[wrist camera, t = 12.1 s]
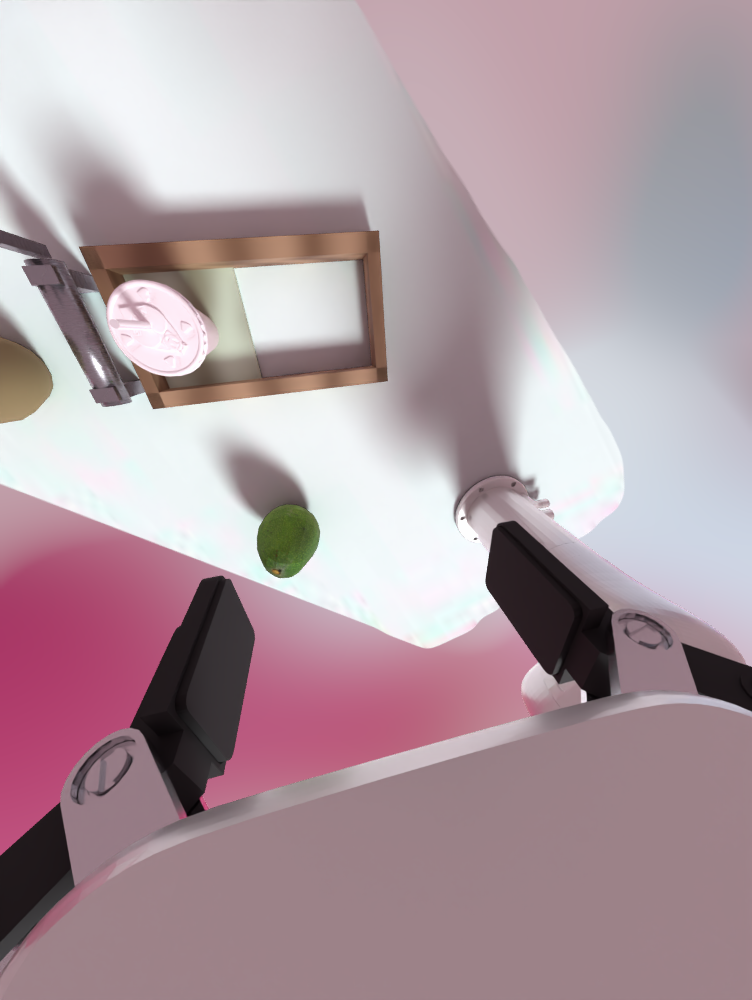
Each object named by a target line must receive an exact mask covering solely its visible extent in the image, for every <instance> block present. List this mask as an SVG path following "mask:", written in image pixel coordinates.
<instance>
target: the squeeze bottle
mask: <svg viewBox="0 0 752 1000" xmlns="http://www.w3.org/2000/svg"><path fill="white" fill-rule="evenodd" d="M52 389H53V382H52V376H51V374H50V372H49V370H48V369H47V367H46V365H45V364H44V362H43V361H41V360H40V359H39V358H38V357H37V356H36V355H35V354H34V353H33V352H32V351H30V350H28V349H27V348H25V347H23V346H21V345H20V344H18V343H16V342H13V341H10V340H7V339H4V338H2V337H0V423H6V422H12V421H18V420H23V419H24V418H26V417H28V416H29V415H31V414H32V413H34V412H35V411H36V410H37V409H38V408H39V407H40V406H41V405H42V404H43V403H44V402H45V400H46V399H47V398H48V397H49V396H50V394H51V391H52Z"/></svg>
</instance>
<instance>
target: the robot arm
mask: <svg viewBox="0 0 752 1000" xmlns="http://www.w3.org/2000/svg"><path fill="white" fill-rule="evenodd" d="M549 504H550V503H549V501H548V499H542V500H538V501H534V500H533V499H531V498H530V497H529V496H528V492H527V490H526V488H525V486H524V485H523V484H522V483H521V482H519V481H518V480H516V479H514V478H512V477H509V476H494V477H490V478H487V479H484V480H482V481H481V482H479V483H477V484H476V485H474V486H473V487H472V488H471V489H470V490H469V491H468V492H467V493H466V494H465V495H464V496H463V498H462V499H461V501H460V503H459V505H458V508H457V511H456V525H457V528H458V529H459V531H460V532H461V534H462V535H463V536H464V537H465V538H466V539H468V540H470V541H472V542H477V543H482V545H483V546H484V547H485V548H486V550H487V551H488V552H489V559H488V566H487V573H486V581H485V582H486V586H487V589H488V590H489V592H490V593H491V595H492V596H493V598H494V599H495V600H496V602H497V603H498V605H499V606H500V608H501V609H502V611H503V612H504V613H505V615H506V616H507V618H508V619H509V620H510V622H511V623H512V625H513V626H514V627H515V629H516V631H517V632H518V634H519V635H520V636H521V638H522V639H523V641H524V642H525V644H526V645H527V646H528V648H529V649H530V651H531V652H532V654H533V655H534V657H535V658H536V659H537V661H538V663H537V664H536V665H535V666H533V667H532V668H531V669H530V671H528V673H527V674H526V675H525V677H524V679H523V682H522V688H521V691H522V697H523V701H524V703H525V706H526V708H527V711H528V713H529V714H530V716H531V717H528V718H524V719H520V720H517V721H513V722H509V723H506V724H502V725H499V726H495V727H491V728H488V729H484V730H480V731H477V732H473V733H469V734H466V735H462V736H459V737H455V738H452V739H448V740H444V741H441V742H438V743H434V744H430V745H426V746H423V747H419V748H416V749H412V750H409V751H405V752H402V753H398V754H395V755H391V756H387V757H384V758H380V759H377V760H373V761H370V762H366V763H363V764H359V765H356V766H352V767H349V768H345V769H342V770H338V771H335V772H331V773H328V774H325V775H321V776H318V777H314V778H310V779H307V780H303V781H300V782H296V783H293V784H290V785H286V786H282V787H279V788H276V789H272V790H269V791H266V792H262V793H259V794H256V795H253V796H250V797H246V798H243V799H240V800H236V801H233V802H230V803H227V804H223V805H220V806H217V807H214V808H211V809H209V808H208V806H207V804H206V802H205V800H204V798H203V796H202V795H203V794H204V793H205V788H206V784H207V780H208V779H209V778H213V777H217V776H221V775H223V774H224V769H225V764H226V761H227V760H230V759H231V758H232V755H233V752H234V747H235V742H236V737H237V731H238V726H239V721H240V715H241V710H242V705H243V699H244V693H245V689H246V683H247V678H248V673H249V667H250V662H251V657H252V651H253V646H254V640H255V635H254V630H253V628H252V625H251V623H250V621H249V619H248V617H247V614H246V612H245V611H244V608H243V606H242V604H241V601H240V599H239V597H238V595H237V593H236V590H235V588H234V586H233V584H232V582H231V580H230V579H225V578H224V577H223V576H217V577H212V578H206V579H203V580H202V581H201V582H200V584H199V587H198V589H197V591H196V593H195V595H194V598H193V600H192V602H191V604H190V606H189V609H188V611H187V613H186V615H185V618H184V620H183V622H182V624H181V626H179V627H178V628H177V629H176V630H175V632H174V634H173V636H172V638H171V640H170V642H169V644H168V647H167V649H166V651H165V653H164V655H163V657H162V659H161V661H160V664H159V666H158V668H157V670H156V672H155V675H154V677H153V679H152V681H151V683H150V685H149V687H148V689H147V692H146V694H145V696H144V698H143V700H142V702H141V705H140V707H139V709H138V711H137V713H136V715H135V717H134V720H133V722H132V724H131V726H130V728H127V729H121V730H119V731H116V732H114V733H112V734H110V735H108V736H107V737H105V738H104V739H102V740H101V741H99V742H98V743H96V744H95V745H94V746H93V747H92V748H91V749H90V750H89V751H88V752H86V753H85V754H84V756H83V757H82V758H81V759H80V761H79V762H78V763H77V764H76V765H75V767H74V768H73V770H72V771H71V773H70V774H69V776H68V778H67V779H66V782H65V784H64V787H63V790H62V792H61V802H60V803H59V804H58V805H56V807H54V808H53V809H52V810H51V811H50V812H49V813H48V814H46V815H45V816H44V817H43V818H42V819H41V820H40V821H39V822H37V823H36V824H35V825H34V826H33V827H32V828H31V829H30V830H29V831H27V832H26V833H25V834H24V835H23V836H22V837H21V838H20V839H18V840H17V841H16V842H15V843H14V844H13V845H12V846H11V847H10V848H8V849H7V850H6V851H5V852H4V853H3V854H2V855H1V856H0V1000H752V667H751V666H748V665H746V663H745V660H744V658H743V657H742V655H741V653H740V652H739V651H738V649H737V648H736V647H735V646H734V645H733V644H732V643H731V642H730V641H729V640H728V639H727V638H726V637H725V636H724V635H722V634H721V633H720V632H719V631H717V630H716V629H715V628H713V627H712V626H711V625H709V624H708V623H706V622H705V621H703V620H701V619H700V618H698V617H696V616H695V615H694V614H692V613H690V612H689V611H687V610H685V609H683V608H682V607H680V606H678V605H676V604H675V603H673V602H671V601H669V600H668V599H666V598H664V597H662V596H661V595H659V594H657V593H655V592H654V591H652V590H650V589H649V588H647V587H646V586H644V585H642V584H641V583H639V582H638V581H636V580H634V579H632V578H631V577H630V576H628V575H627V574H625V573H624V572H622V571H621V570H619V569H618V568H617V567H615V566H614V565H612V564H611V563H610V562H608V561H607V560H605V559H604V558H603V557H601V556H600V555H599V554H597V553H596V552H595V551H593V550H592V549H591V548H589V547H588V546H587V545H585V544H584V543H583V542H581V541H580V540H579V539H577V538H576V537H575V536H574V535H572V534H571V533H570V532H568V531H567V530H566V529H564V528H563V527H562V526H560V525H559V524H558V523H556V522H555V521H554V520H553V519H554V513H553V511H552V510H550V509H547V510H539V509H538V508H546V507H549Z"/></svg>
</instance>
